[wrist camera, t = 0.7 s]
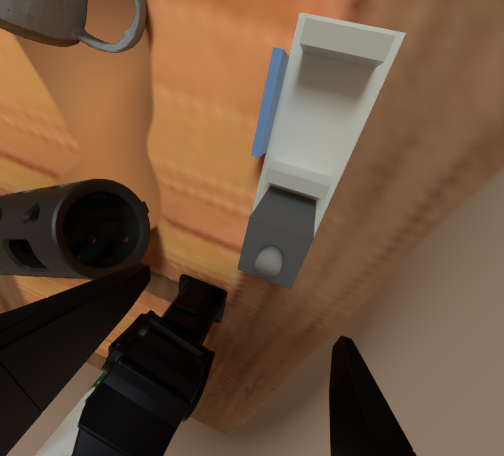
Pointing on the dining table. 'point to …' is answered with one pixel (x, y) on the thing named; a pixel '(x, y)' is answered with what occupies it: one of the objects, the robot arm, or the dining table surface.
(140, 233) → the muzzle brake
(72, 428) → the milk carton
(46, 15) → the ceramic mug
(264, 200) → the dark grey knobbed block
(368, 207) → the dining table surface
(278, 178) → the white ridged plate
